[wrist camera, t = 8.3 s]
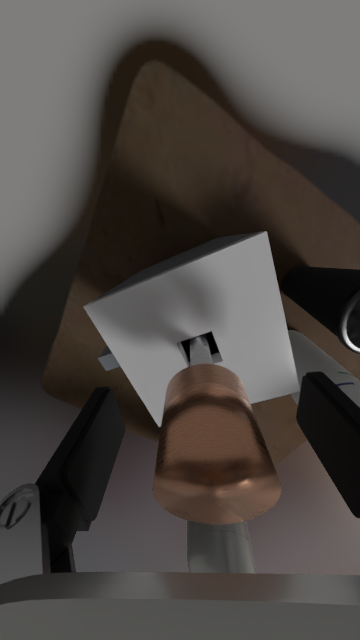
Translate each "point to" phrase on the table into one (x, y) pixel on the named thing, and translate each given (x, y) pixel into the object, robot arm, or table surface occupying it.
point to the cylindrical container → (320, 366)
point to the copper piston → (212, 447)
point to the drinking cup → (329, 299)
